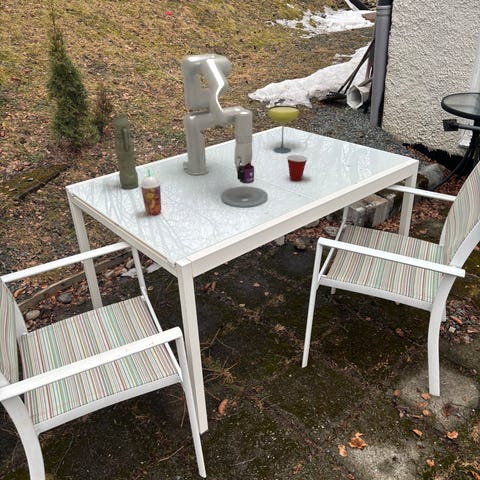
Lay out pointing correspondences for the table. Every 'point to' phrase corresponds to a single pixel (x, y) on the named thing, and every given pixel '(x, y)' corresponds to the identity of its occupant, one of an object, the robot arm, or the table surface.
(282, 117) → the cocktail glass
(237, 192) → the dish
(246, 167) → the cup
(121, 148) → the green moai statue
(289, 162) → the plastic cup
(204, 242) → the table surface
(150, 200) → the smoothie
